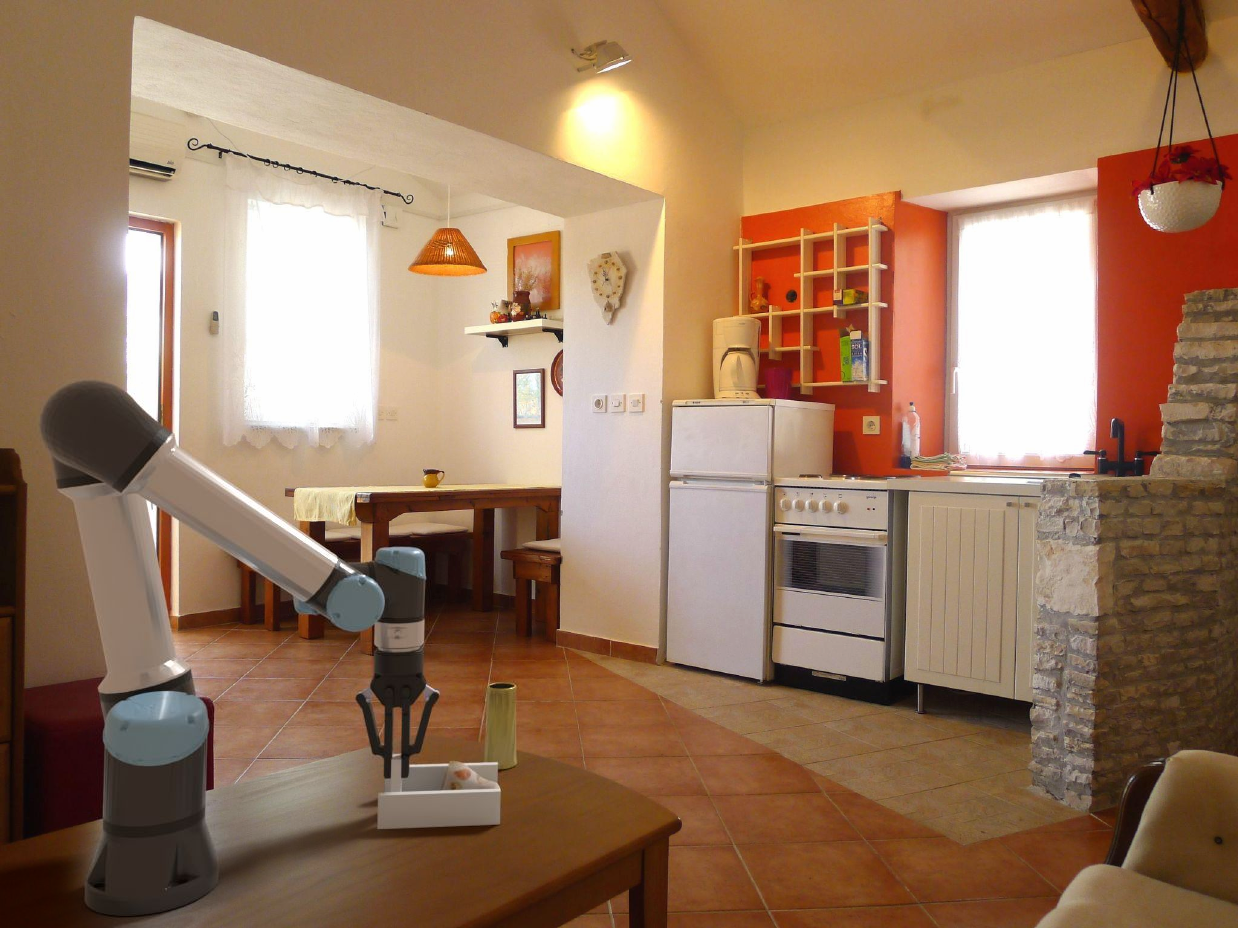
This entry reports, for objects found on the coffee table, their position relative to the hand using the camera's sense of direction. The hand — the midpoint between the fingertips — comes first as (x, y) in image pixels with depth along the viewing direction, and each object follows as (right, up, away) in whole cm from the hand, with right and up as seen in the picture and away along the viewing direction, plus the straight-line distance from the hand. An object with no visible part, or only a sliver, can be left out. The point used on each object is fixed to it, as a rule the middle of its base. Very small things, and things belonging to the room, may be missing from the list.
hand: (396, 798), depth 145 cm
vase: (+13, -3, +23) cm, 27 cm away
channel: (+7, -2, +1) cm, 7 cm away
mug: (+11, -3, +3) cm, 12 cm away
